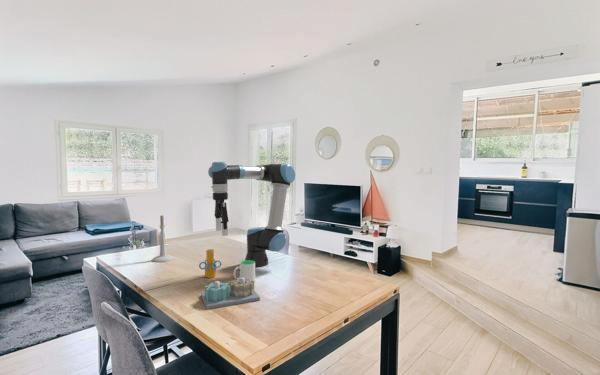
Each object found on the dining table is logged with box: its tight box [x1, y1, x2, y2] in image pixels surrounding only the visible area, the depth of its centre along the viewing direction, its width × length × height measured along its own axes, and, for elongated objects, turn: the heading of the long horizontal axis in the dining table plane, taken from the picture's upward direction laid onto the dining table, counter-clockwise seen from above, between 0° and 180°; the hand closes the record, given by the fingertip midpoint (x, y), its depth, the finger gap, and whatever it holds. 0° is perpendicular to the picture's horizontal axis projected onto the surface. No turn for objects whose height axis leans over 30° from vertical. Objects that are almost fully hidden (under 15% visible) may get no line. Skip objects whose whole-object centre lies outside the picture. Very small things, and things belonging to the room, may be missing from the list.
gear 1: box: [204, 281, 230, 302], centre depth 154 cm, size 11×11×5 cm
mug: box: [233, 259, 256, 283], centre depth 178 cm, size 12×8×10 cm, turn 128°
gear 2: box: [230, 279, 255, 297], centre depth 159 cm, size 11×11×5 cm
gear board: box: [200, 278, 261, 310], centre depth 156 cm, size 24×17×8 cm
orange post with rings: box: [198, 248, 222, 279], centre depth 187 cm, size 12×10×15 cm
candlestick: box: [152, 214, 174, 263], centre depth 220 cm, size 13×13×30 cm
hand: (221, 232), depth 172 cm, fingers open, 13 cm apart
